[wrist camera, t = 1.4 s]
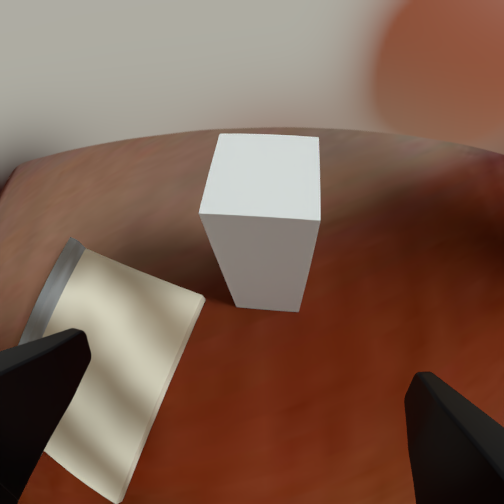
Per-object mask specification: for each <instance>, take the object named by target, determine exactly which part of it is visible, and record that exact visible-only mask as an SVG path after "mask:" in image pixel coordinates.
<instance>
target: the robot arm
mask: <svg viewBox="0 0 504 504" xmlns="http://www.w3.org/2000/svg"><path fill="white" fill-rule="evenodd" d="M91 357H92V355H91V350H90V346H89V343H88V339H87V335H86V333H85V332H84V331H83V330H80V329H76V328H70V329H67V330H64V331H61V332H58V333H55V334H52V335H49V336H46V337H43V338H40V339H37V340H34V341H31V342H28V343H25V344H22V345H19V346H16V347H13V348H10V349H6V350H3V351H0V504H17V503H18V500H19V499H20V497H21V494H22V492H23V490H24V488H25V486H26V484H27V482H28V480H29V478H30V476H31V474H32V472H33V470H34V468H35V466H36V464H37V462H38V460H39V459H40V457H41V455H42V453H43V451H44V449H45V447H46V445H47V444H48V442H49V440H50V438H51V436H52V435H53V433H54V431H55V429H56V427H57V426H58V424H59V422H60V420H61V419H62V417H63V415H64V413H65V412H66V410H67V408H68V407H69V405H70V403H71V401H72V399H73V397H74V395H75V393H76V391H77V389H78V387H79V384H80V382H81V380H82V378H83V376H84V374H85V372H86V370H87V368H88V366H89V364H90V361H91ZM404 403H405V414H406V425H407V438H408V450H409V457H410V463H411V469H412V476H413V482H414V490H415V497H416V504H504V427H502V426H501V425H500V424H498V423H497V422H496V421H495V420H493V419H492V418H491V417H489V416H488V415H487V414H485V413H484V412H483V411H482V410H480V409H479V408H478V407H476V406H475V405H474V404H472V403H471V402H470V401H469V400H467V399H466V398H465V397H463V396H462V395H461V394H459V393H458V392H457V391H455V390H454V389H453V388H452V387H450V386H449V385H448V384H446V383H445V382H444V381H442V380H441V379H440V378H438V377H437V376H436V375H434V374H433V373H432V372H418V373H416V374H415V375H414V377H413V380H412V382H411V384H410V386H409V388H408V391H407V393H406V395H405V401H404Z"/></svg>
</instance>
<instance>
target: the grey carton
mask: <svg viewBox="0 0 504 504" xmlns="http://www.w3.org/2000/svg"><path fill="white" fill-rule="evenodd" d="M199 216H200V218H201V221H202V223H203V226H204V228H205V231H206V234H207V236H208V239H209V241H210V244H211V246H212V249H213V251H214V254H215V256H216V259H217V261H218V264H219V266H220V269H221V271H222V273H223V276H224V278H225V281H226V283H227V286H228V288H229V290H230V293H231V295H232V298H233V300H234V302H235V305H236V307H242V308H253V309H264V310H276V311H289V312H299V309H300V305H301V301H302V297H303V293H304V289H305V285H306V281H307V277H308V273H309V269H310V265H311V260H312V256H313V252H314V248H315V243H316V239H317V234H318V230H319V225H320V160H319V137H307V136H291V135H270V134H220V135H219V139H218V142H217V146H216V149H215V153H214V156H213V160H212V164H211V167H210V171H209V175H208V179H207V182H206V186H205V190H204V194H203V198H202V202H201V206H200V210H199Z"/></svg>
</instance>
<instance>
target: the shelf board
mask: <svg viewBox="0 0 504 504" xmlns="http://www.w3.org/2000/svg"><path fill="white" fill-rule="evenodd" d="M205 300H206V299H205V298H204V297H203V295H201V294H198V293H195V292H192V291H190V290H187V289H184V288H182V287H179V286H177V285H174V284H171V283H169V282H166V281H164V280H161V279H159V278H156V277H153V276H151V275H148V274H146V273H143V272H141V271H138V270H136V269H134V268H131V267H129V266H126V265H124V264H121V263H119V262H117V261H114V260H112V259H109V258H107V257H105V256H102V255H100V254H98V253H95V252H93V251H91V250H89V249H86V248H85V247H84V246H83V245H82V244H81V243H80V242H79V241H78V240H76V239H74V238H71V237H70V239H69V240H68V242H67V244H66V245H65V247H64V249H63V251H62V253H61V254H60V256H59V258H58V260H57V262H56V264H55V265H54V267H53V269H52V271H51V273H50V275H49V277H48V279H47V281H46V283H45V285H44V287H43V289H42V291H41V293H40V295H39V297H38V300H37V302H36V304H35V306H34V308H33V311H32V313H31V315H30V317H29V320H28V322H27V324H26V327H25V329H24V332H23V334H22V337H21V339H20V342H19V344H18V346H19V345H22V344H25V343H28V342H31V341H34V340H37V339H40V338H43V337H46V336H49V335H52V334H55V333H58V332H61V331H64V330H67V329H70V328H76V329H80V330H83V331H84V332H85V333H86V335H87V339H88V343H89V346H90V350H91V355H92V357H91V361H90V364H89V366H88V368H87V370H86V372H85V374H84V376H83V378H82V380H81V382H80V384H79V387H78V389H77V391H76V393H75V395H74V397H73V399H72V401H71V403H70V405H69V407H68V408H67V410H66V412H65V413H64V415H63V417H62V419H61V420H60V422H59V424H58V426H57V427H56V429H55V431H54V433H53V435H52V436H51V438H50V440H49V442H48V444H47V445H46V447H45V449H44V451H45V452H46V453H47V454H49V455H50V456H51V457H52V458H53V459H54V460H56V461H57V462H58V463H59V464H60V465H62V466H63V467H64V468H65V469H67V470H68V471H69V472H70V473H72V474H73V475H74V476H76V477H77V478H78V479H80V480H81V481H82V482H84V483H85V484H86V485H88V486H89V487H91V488H92V489H94V490H95V491H96V492H98V493H99V494H101V495H102V496H104V497H105V498H107V499H109V500H110V501H112V502H113V503H115V504H118V503H120V502H122V500H123V498H124V495H125V493H126V490H127V487H128V485H129V482H130V480H131V477H132V475H133V472H134V470H135V467H136V464H137V462H138V459H139V457H140V454H141V452H142V449H143V447H144V444H145V442H146V439H147V437H148V434H149V432H150V430H151V427H152V425H153V422H154V420H155V417H156V415H157V412H158V410H159V408H160V405H161V403H162V400H163V398H164V396H165V393H166V391H167V388H168V386H169V384H170V381H171V379H172V376H173V374H174V372H175V369H176V367H177V365H178V362H179V360H180V358H181V355H182V353H183V351H184V348H185V346H186V344H187V341H188V339H189V337H190V334H191V332H192V330H193V327H194V325H195V323H196V320H197V318H198V316H199V314H200V311H201V309H202V307H203V304H204V302H205Z"/></svg>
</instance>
